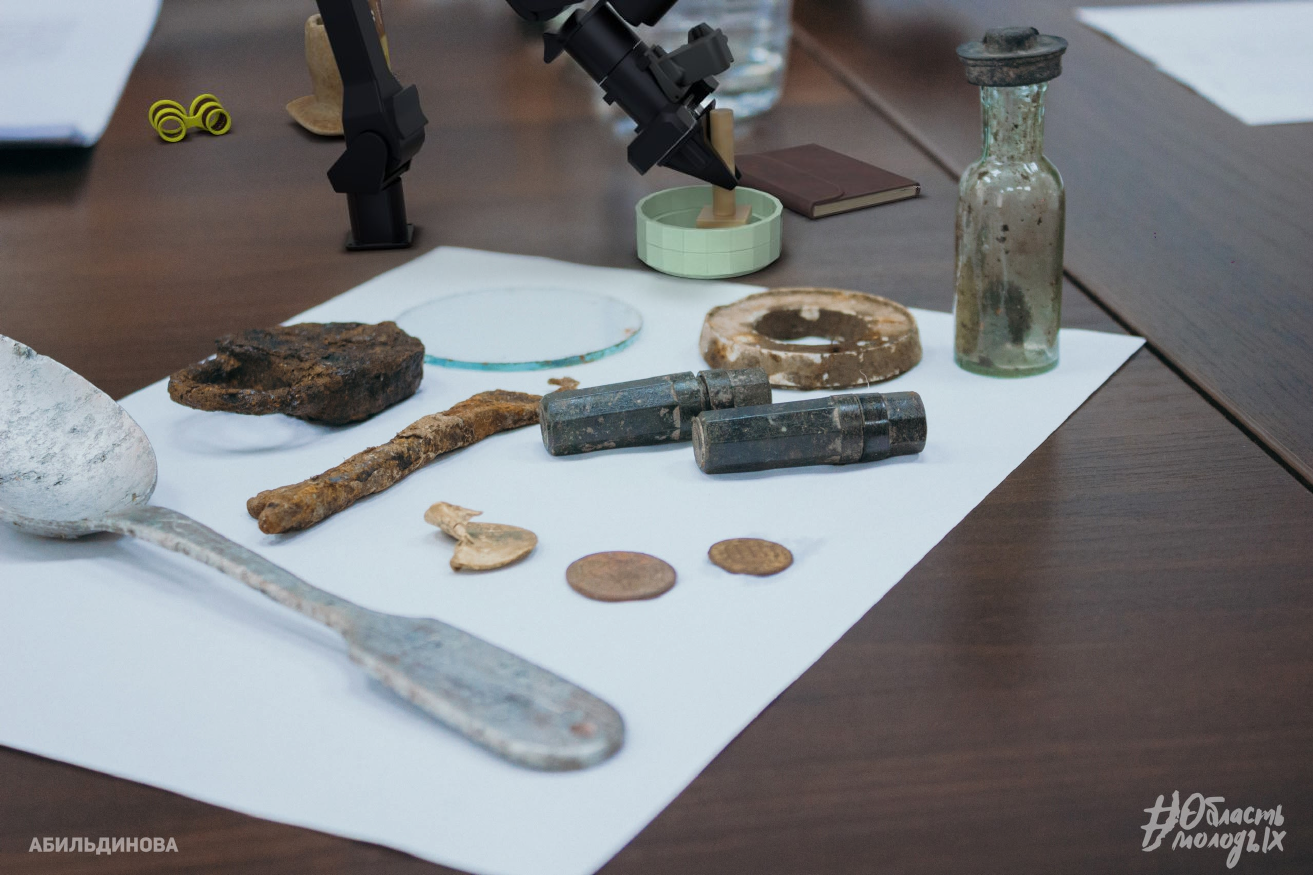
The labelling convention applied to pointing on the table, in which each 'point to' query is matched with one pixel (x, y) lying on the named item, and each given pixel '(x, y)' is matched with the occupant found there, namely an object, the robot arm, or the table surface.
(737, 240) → the bowl
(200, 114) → the opera glasses
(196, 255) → the table surface
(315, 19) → the stone cup
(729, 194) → the brush
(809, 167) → the notebook
